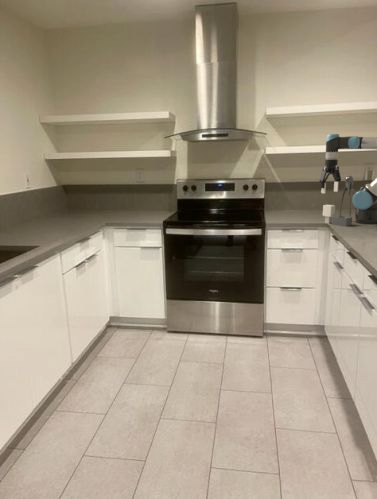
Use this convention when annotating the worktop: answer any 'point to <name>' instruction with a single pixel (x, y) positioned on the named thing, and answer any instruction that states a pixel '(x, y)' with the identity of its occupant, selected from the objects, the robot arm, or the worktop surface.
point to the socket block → (341, 220)
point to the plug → (328, 212)
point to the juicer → (348, 188)
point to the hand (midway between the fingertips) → (329, 192)
